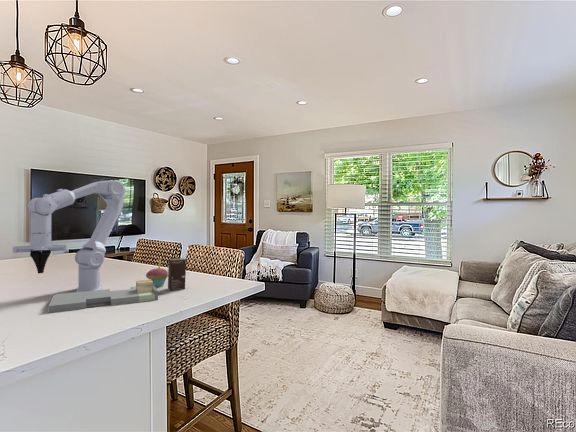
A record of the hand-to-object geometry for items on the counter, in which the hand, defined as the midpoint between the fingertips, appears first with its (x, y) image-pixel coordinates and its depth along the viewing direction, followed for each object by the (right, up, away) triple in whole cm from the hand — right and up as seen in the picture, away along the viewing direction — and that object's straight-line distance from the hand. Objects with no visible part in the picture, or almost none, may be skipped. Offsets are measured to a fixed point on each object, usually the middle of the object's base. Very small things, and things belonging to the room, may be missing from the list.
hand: (40, 272), depth 109 cm
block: (+32, -8, +8) cm, 34 cm away
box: (+40, -10, +19) cm, 45 cm away
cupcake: (+30, -10, +24) cm, 40 cm away
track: (+21, -10, +2) cm, 23 cm away
